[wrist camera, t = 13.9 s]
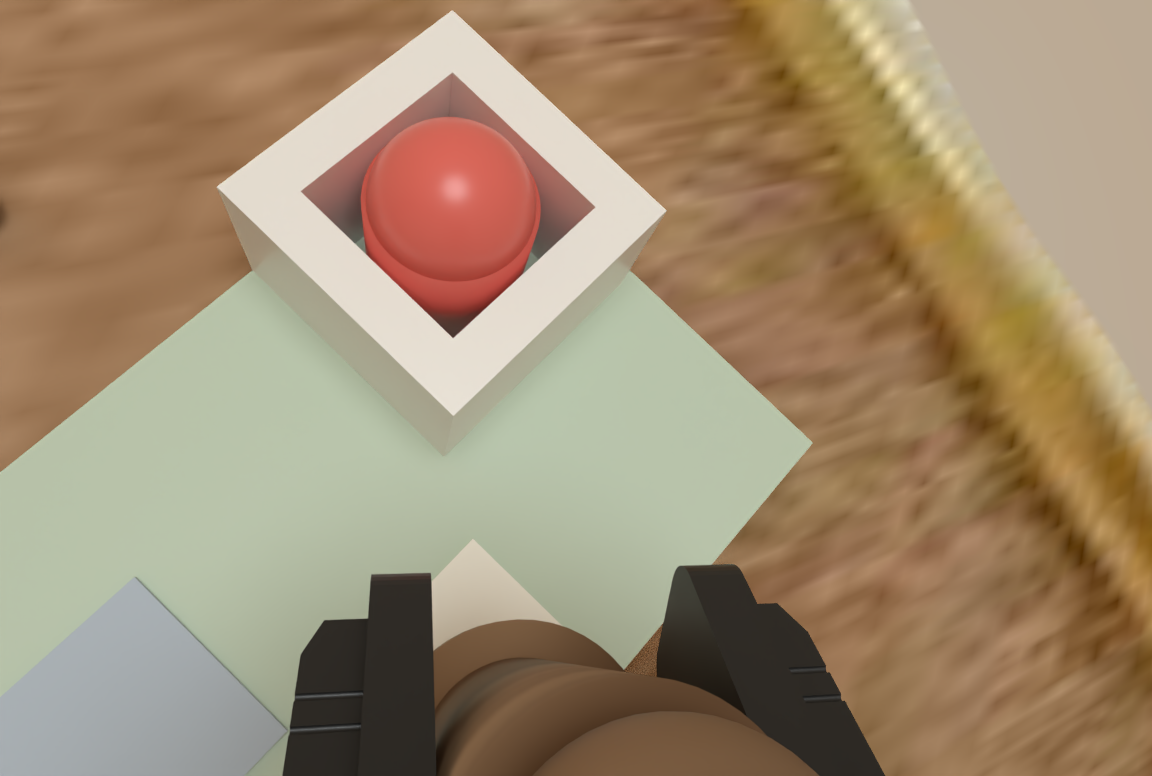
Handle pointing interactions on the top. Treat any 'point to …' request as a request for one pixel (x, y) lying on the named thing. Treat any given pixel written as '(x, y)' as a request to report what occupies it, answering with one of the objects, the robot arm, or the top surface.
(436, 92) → the popper housing
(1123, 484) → the top surface
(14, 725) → the game board
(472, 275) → the popper button
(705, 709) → the pawn
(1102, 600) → the top surface
